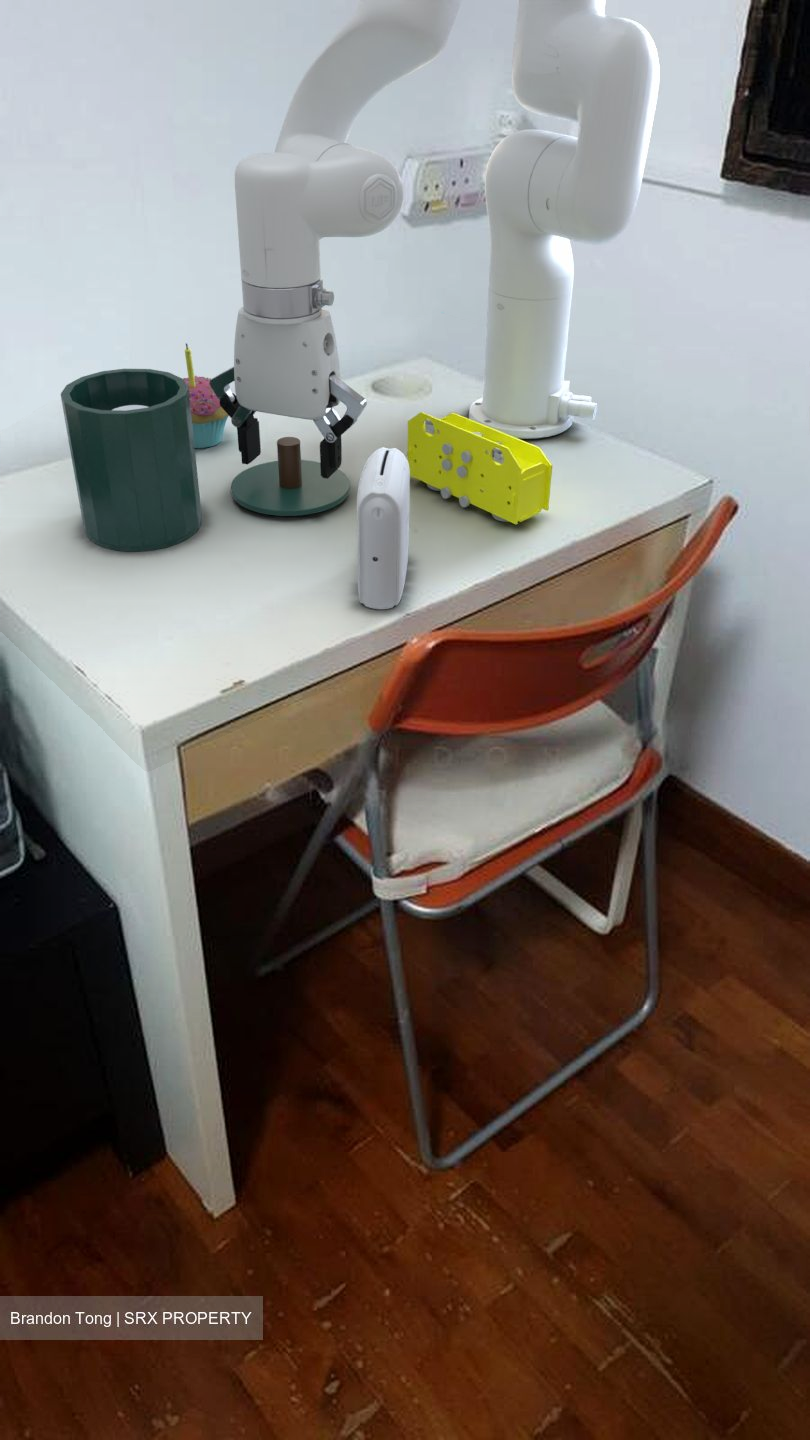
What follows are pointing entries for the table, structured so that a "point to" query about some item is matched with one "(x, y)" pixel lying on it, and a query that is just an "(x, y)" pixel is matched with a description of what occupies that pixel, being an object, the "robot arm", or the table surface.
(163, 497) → the tin
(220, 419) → the cupcake
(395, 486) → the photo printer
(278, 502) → the tin lid
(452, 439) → the yellow toy chassis
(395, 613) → the table surface
